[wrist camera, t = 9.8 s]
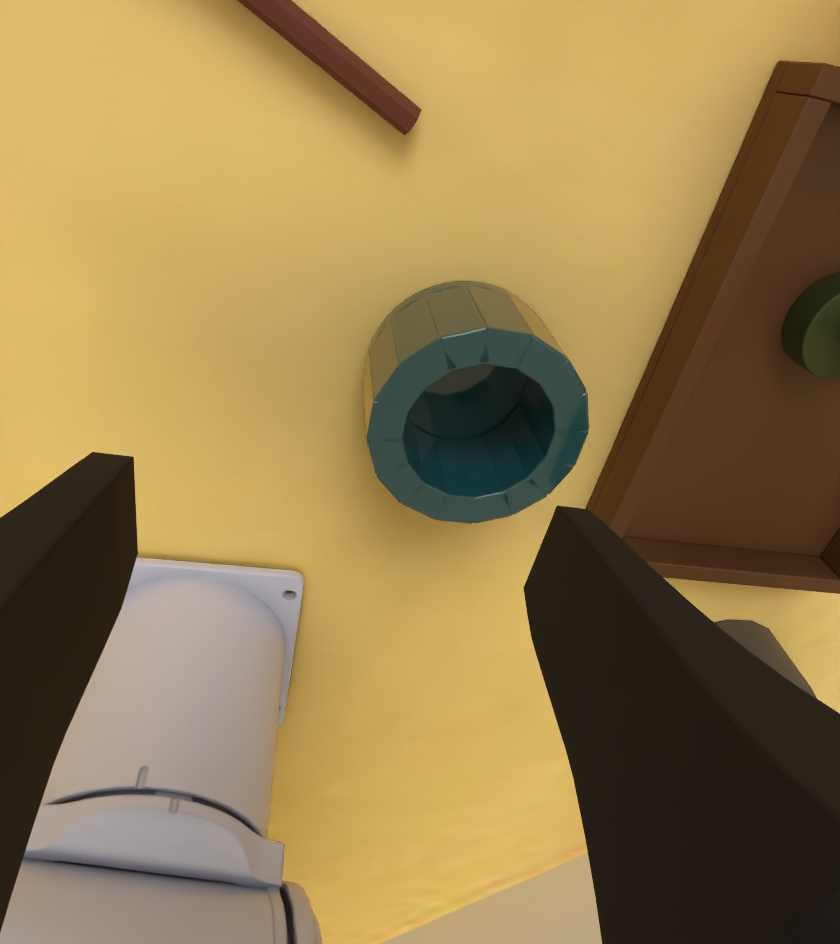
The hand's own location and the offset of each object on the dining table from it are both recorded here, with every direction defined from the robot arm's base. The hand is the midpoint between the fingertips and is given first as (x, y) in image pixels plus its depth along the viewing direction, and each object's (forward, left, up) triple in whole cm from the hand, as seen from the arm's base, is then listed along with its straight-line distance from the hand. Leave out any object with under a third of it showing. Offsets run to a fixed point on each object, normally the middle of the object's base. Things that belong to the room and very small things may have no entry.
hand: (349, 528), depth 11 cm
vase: (-1, -4, -10) cm, 11 cm away
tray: (+1, -16, -10) cm, 19 cm away
